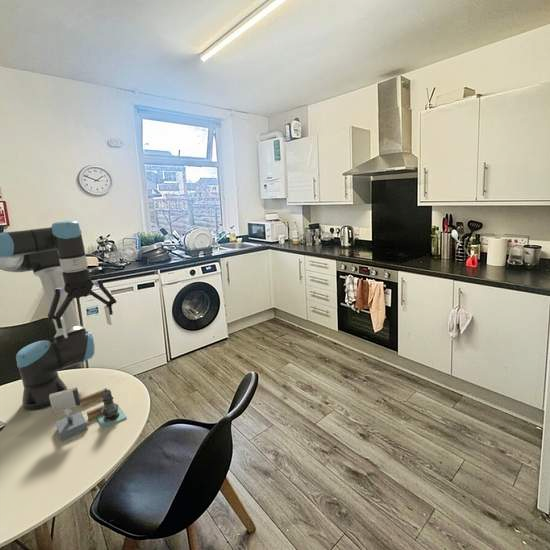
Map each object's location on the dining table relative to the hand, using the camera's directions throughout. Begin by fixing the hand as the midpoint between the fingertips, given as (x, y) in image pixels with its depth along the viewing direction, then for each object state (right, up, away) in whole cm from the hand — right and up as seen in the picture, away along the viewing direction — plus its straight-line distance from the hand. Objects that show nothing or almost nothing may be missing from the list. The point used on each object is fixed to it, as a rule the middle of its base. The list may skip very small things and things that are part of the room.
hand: (88, 330), depth 115 cm
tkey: (-8, -32, +3) cm, 33 cm away
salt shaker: (+4, -33, +8) cm, 34 cm away
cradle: (-5, -32, +15) cm, 36 cm away
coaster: (+4, -34, +8) cm, 35 cm away
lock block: (-8, -35, +4) cm, 36 cm away
